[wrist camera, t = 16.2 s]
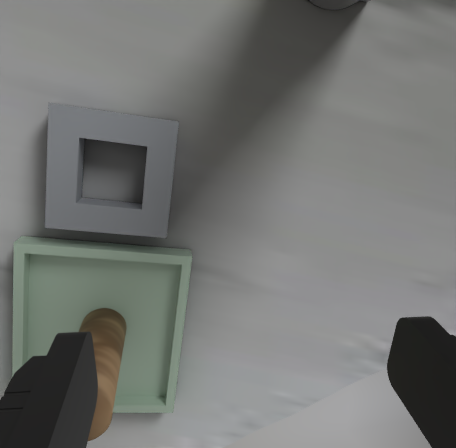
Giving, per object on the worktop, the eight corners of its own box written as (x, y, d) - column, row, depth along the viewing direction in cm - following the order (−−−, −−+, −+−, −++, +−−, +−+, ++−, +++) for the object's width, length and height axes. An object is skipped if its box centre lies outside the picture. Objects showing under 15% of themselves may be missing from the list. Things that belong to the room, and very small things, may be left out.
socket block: (177, 121, 41) (179, 121, 38) (166, 230, 44) (166, 238, 41) (56, 103, 39) (48, 102, 36) (52, 220, 41) (44, 227, 39)
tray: (190, 249, 45) (192, 256, 42) (172, 398, 49) (173, 412, 47) (22, 235, 41) (13, 242, 39) (19, 397, 46) (11, 412, 44)
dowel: (128, 309, 45) (113, 390, 31) (124, 347, 46) (109, 442, 32) (82, 306, 44) (47, 389, 30) (80, 346, 45) (45, 443, 31)
